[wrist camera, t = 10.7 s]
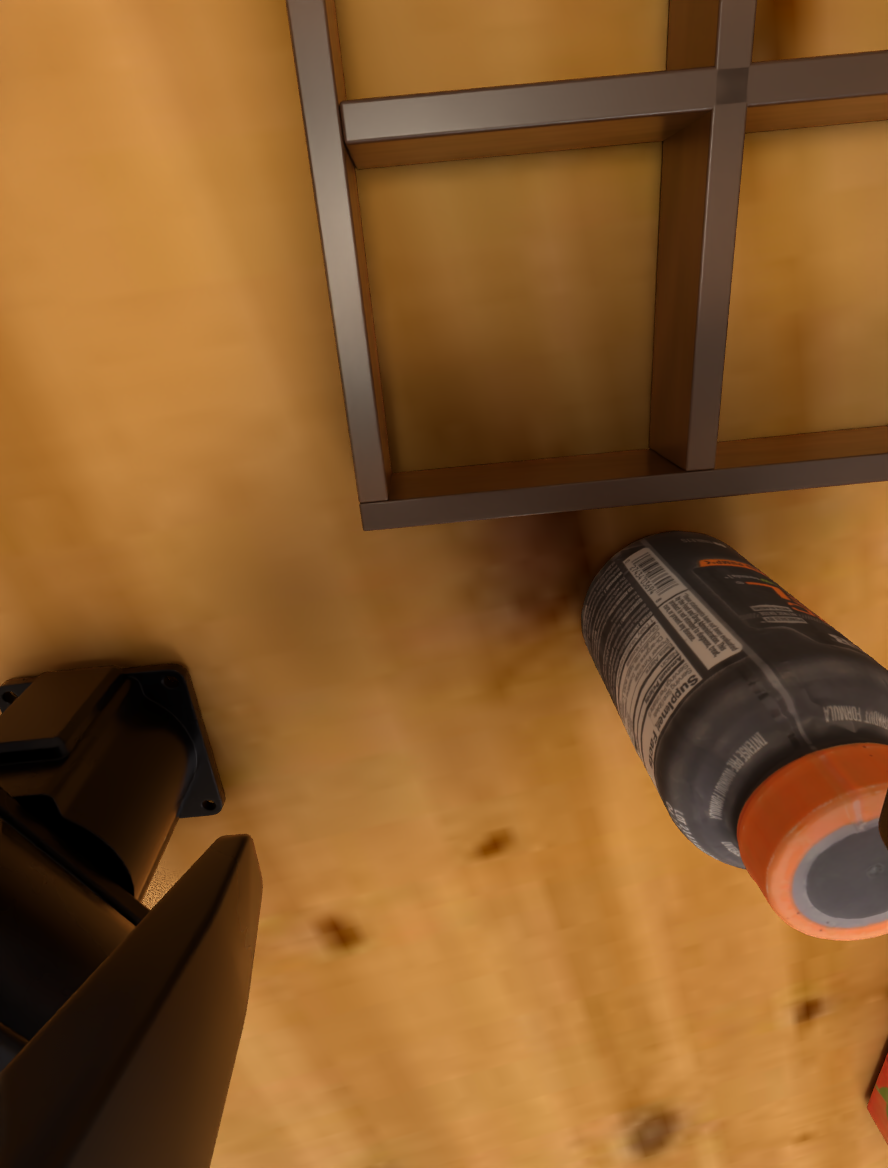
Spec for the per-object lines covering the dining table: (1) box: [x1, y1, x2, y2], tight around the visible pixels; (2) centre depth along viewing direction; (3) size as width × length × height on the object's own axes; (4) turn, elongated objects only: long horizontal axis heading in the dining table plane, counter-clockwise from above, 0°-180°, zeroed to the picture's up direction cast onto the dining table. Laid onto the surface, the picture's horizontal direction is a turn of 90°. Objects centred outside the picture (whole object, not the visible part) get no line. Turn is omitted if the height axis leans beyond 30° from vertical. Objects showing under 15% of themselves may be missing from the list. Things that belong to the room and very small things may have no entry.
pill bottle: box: [581, 531, 888, 941], centre depth 17 cm, size 6×6×11 cm
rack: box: [286, 0, 888, 531], centre depth 15 cm, size 18×18×3 cm
